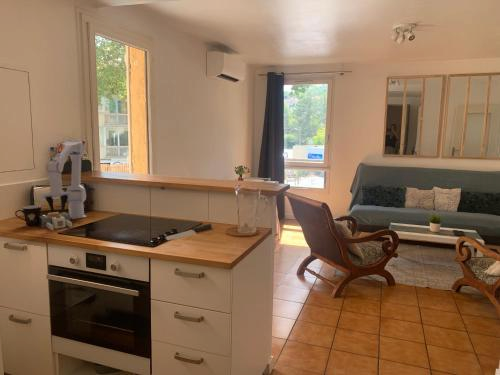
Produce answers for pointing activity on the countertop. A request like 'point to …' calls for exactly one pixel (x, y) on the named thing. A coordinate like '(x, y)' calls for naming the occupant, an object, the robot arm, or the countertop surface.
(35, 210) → the coffee mug
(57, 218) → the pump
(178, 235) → the kitchen knife
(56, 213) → the block
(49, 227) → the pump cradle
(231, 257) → the countertop surface
